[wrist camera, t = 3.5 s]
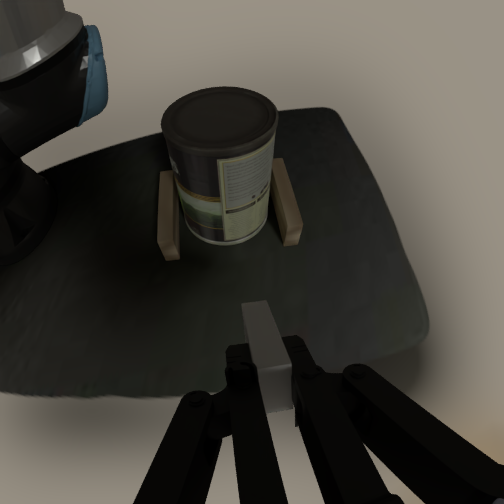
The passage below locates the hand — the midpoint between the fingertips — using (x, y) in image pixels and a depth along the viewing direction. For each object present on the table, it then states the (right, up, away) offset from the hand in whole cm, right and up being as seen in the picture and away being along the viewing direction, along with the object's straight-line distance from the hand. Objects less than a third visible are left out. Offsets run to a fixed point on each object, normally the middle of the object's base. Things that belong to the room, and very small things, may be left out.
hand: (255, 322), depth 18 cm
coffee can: (-3, +9, +18) cm, 21 cm away
